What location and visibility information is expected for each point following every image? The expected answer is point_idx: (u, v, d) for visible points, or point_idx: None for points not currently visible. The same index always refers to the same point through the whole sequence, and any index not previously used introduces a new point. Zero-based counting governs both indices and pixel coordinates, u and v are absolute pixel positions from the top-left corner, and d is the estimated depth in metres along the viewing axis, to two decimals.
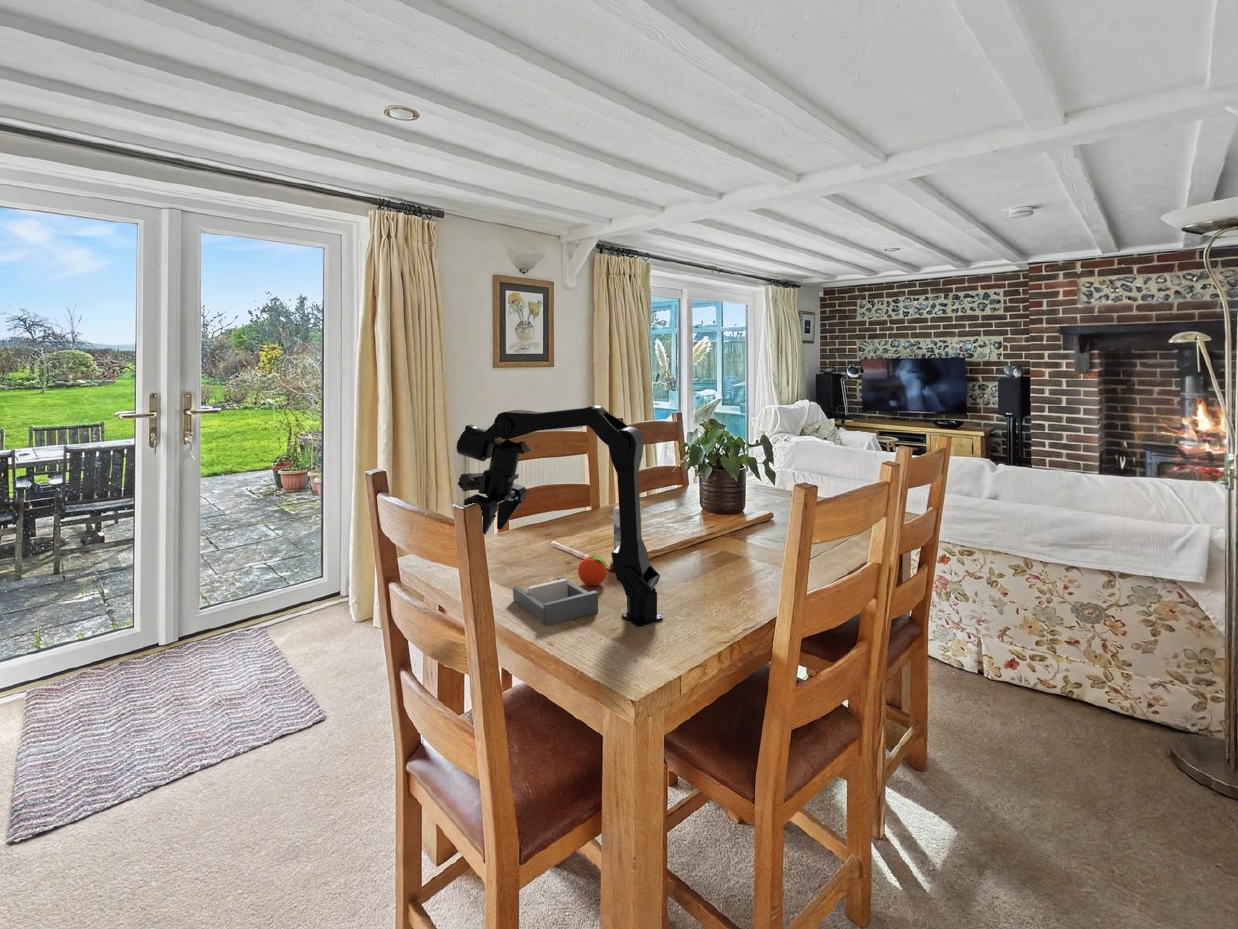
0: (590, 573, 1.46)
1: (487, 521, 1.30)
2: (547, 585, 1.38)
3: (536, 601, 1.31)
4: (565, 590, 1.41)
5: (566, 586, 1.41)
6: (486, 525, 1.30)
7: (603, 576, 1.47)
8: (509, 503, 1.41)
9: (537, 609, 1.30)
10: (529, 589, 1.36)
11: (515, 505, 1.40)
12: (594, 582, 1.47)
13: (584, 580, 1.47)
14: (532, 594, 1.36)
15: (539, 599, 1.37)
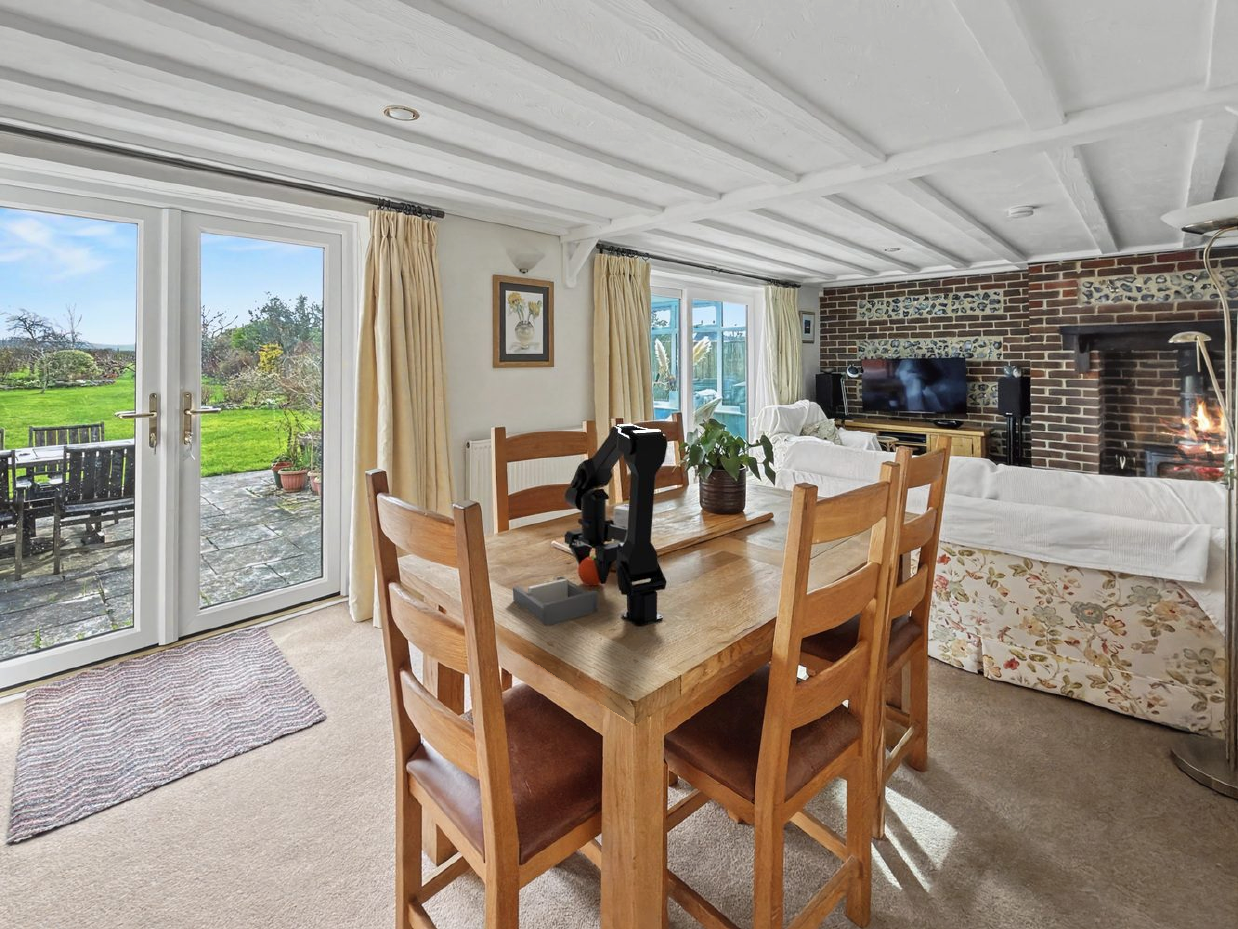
0: (590, 573, 1.46)
1: None
2: (547, 585, 1.38)
3: (536, 601, 1.31)
4: (565, 590, 1.41)
5: (566, 586, 1.41)
6: None
7: None
8: None
9: (537, 609, 1.30)
10: (529, 589, 1.36)
11: None
12: (594, 582, 1.47)
13: (584, 580, 1.47)
14: (532, 594, 1.36)
15: (539, 599, 1.37)
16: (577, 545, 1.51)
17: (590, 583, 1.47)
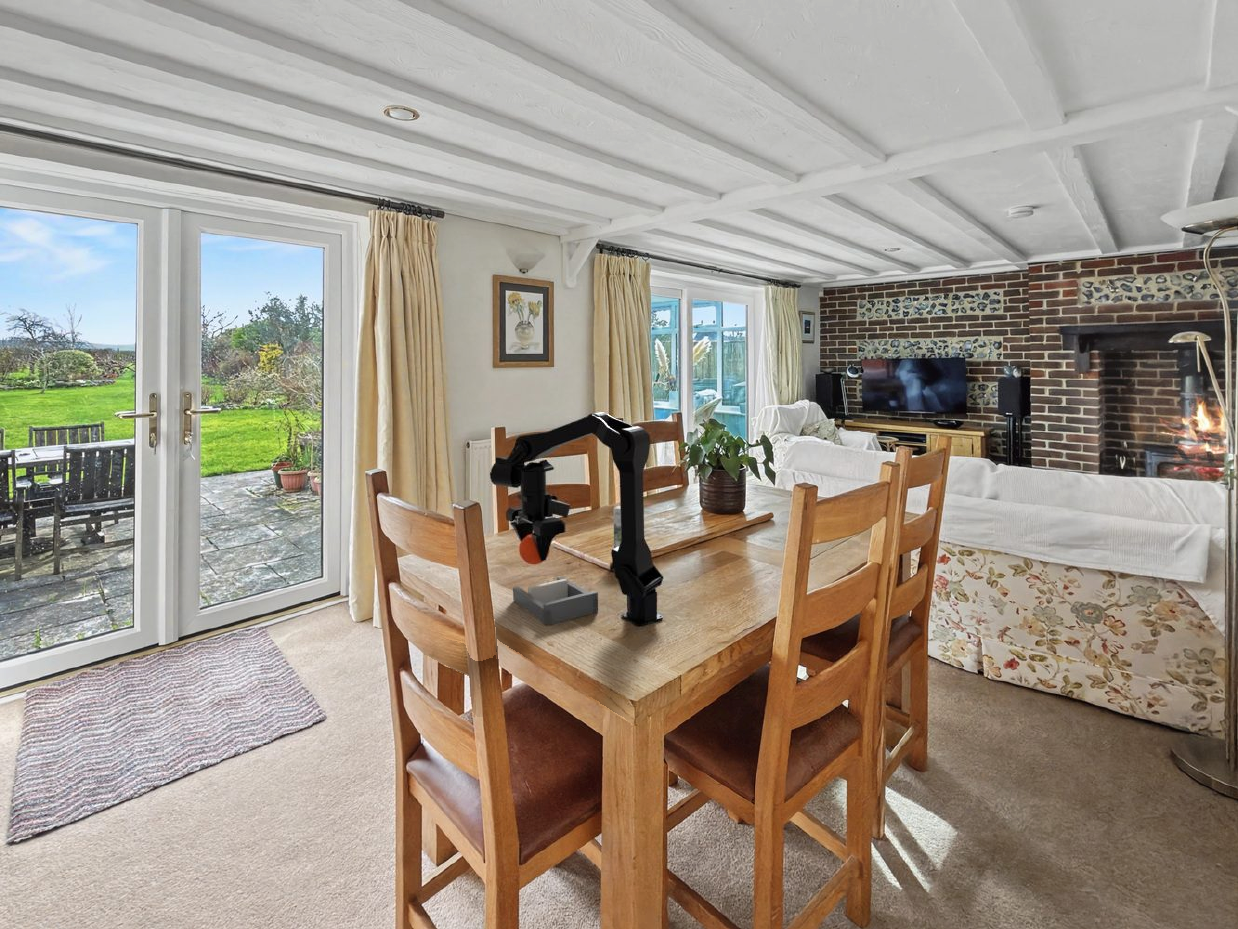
0: (531, 550, 1.39)
1: None
2: (547, 585, 1.38)
3: (536, 601, 1.31)
4: (565, 590, 1.41)
5: (566, 586, 1.41)
6: None
7: None
8: None
9: (537, 609, 1.30)
10: (529, 589, 1.36)
11: None
12: (535, 560, 1.40)
13: (525, 558, 1.40)
14: (532, 594, 1.36)
15: (539, 599, 1.37)
16: (519, 522, 1.44)
17: (531, 561, 1.40)
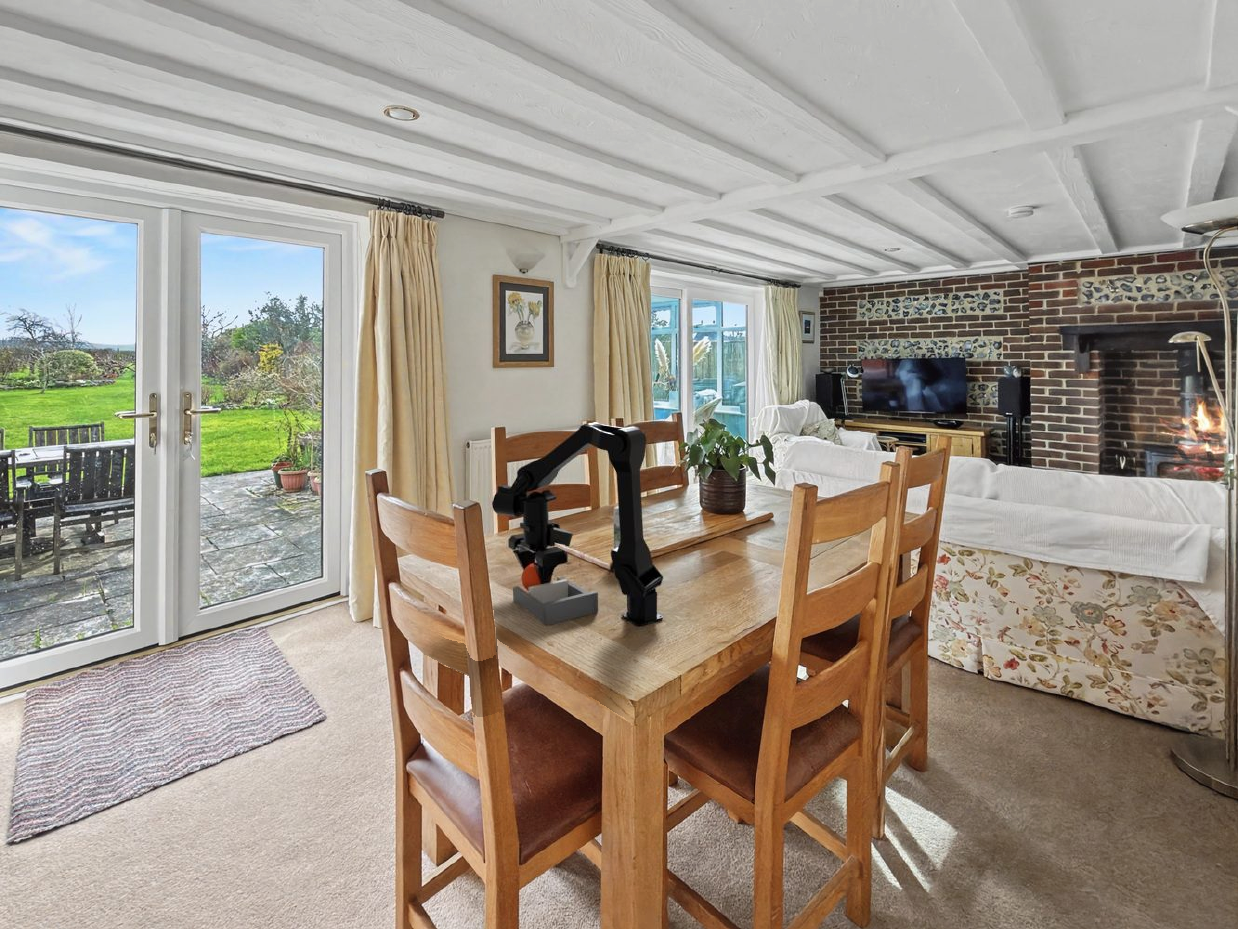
0: (533, 580, 1.40)
1: None
2: (548, 585, 1.38)
3: (536, 601, 1.31)
4: (566, 590, 1.41)
5: (567, 586, 1.41)
6: None
7: None
8: None
9: (537, 609, 1.30)
10: (530, 589, 1.36)
11: None
12: None
13: (527, 588, 1.41)
14: (533, 594, 1.36)
15: (540, 599, 1.37)
16: (521, 550, 1.45)
17: None
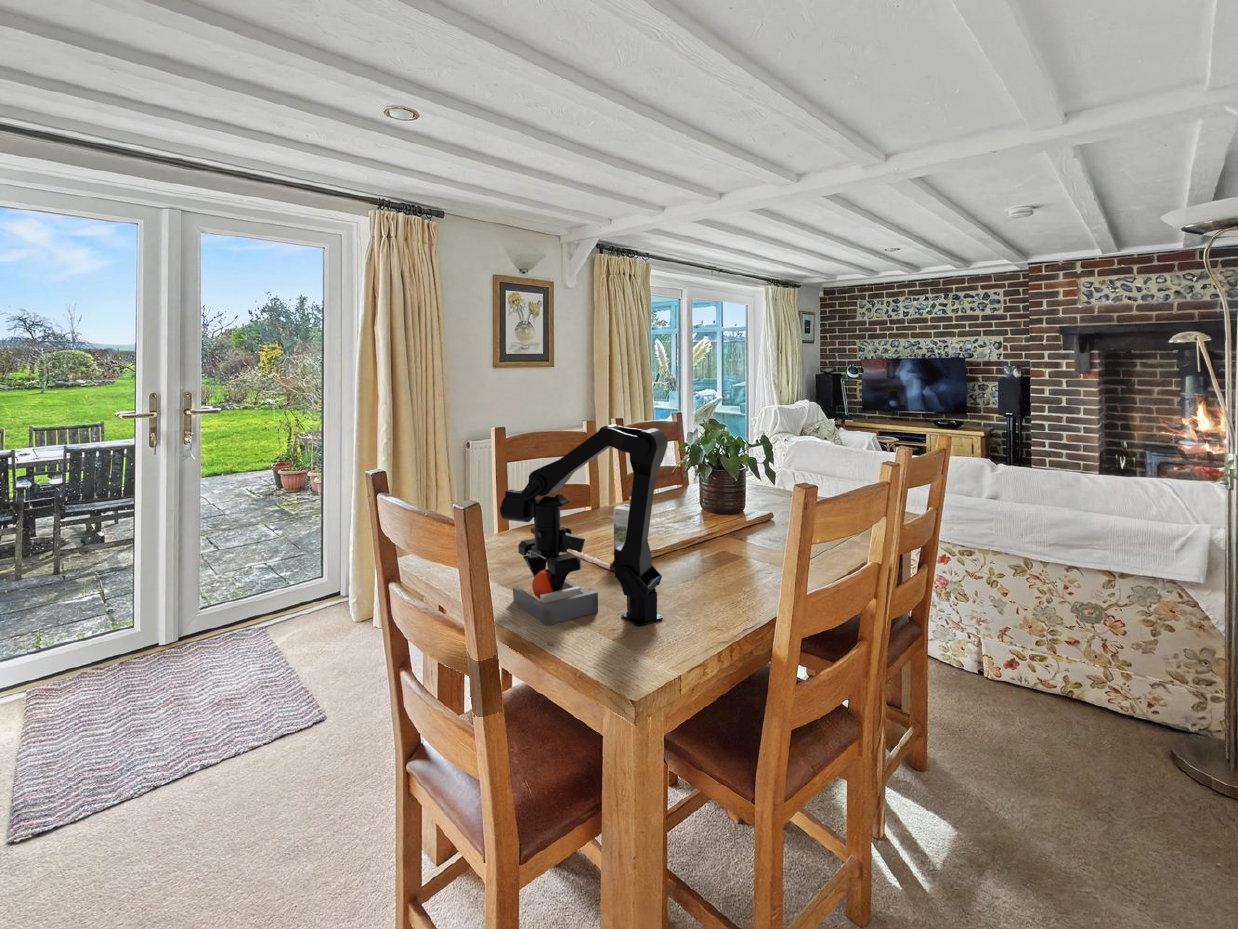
0: (544, 587, 1.35)
1: None
2: (560, 593, 1.33)
3: (536, 601, 1.31)
4: None
5: None
6: None
7: None
8: None
9: (537, 609, 1.30)
10: (541, 597, 1.32)
11: None
12: None
13: (538, 595, 1.36)
14: (544, 602, 1.32)
15: None
16: (532, 556, 1.40)
17: None
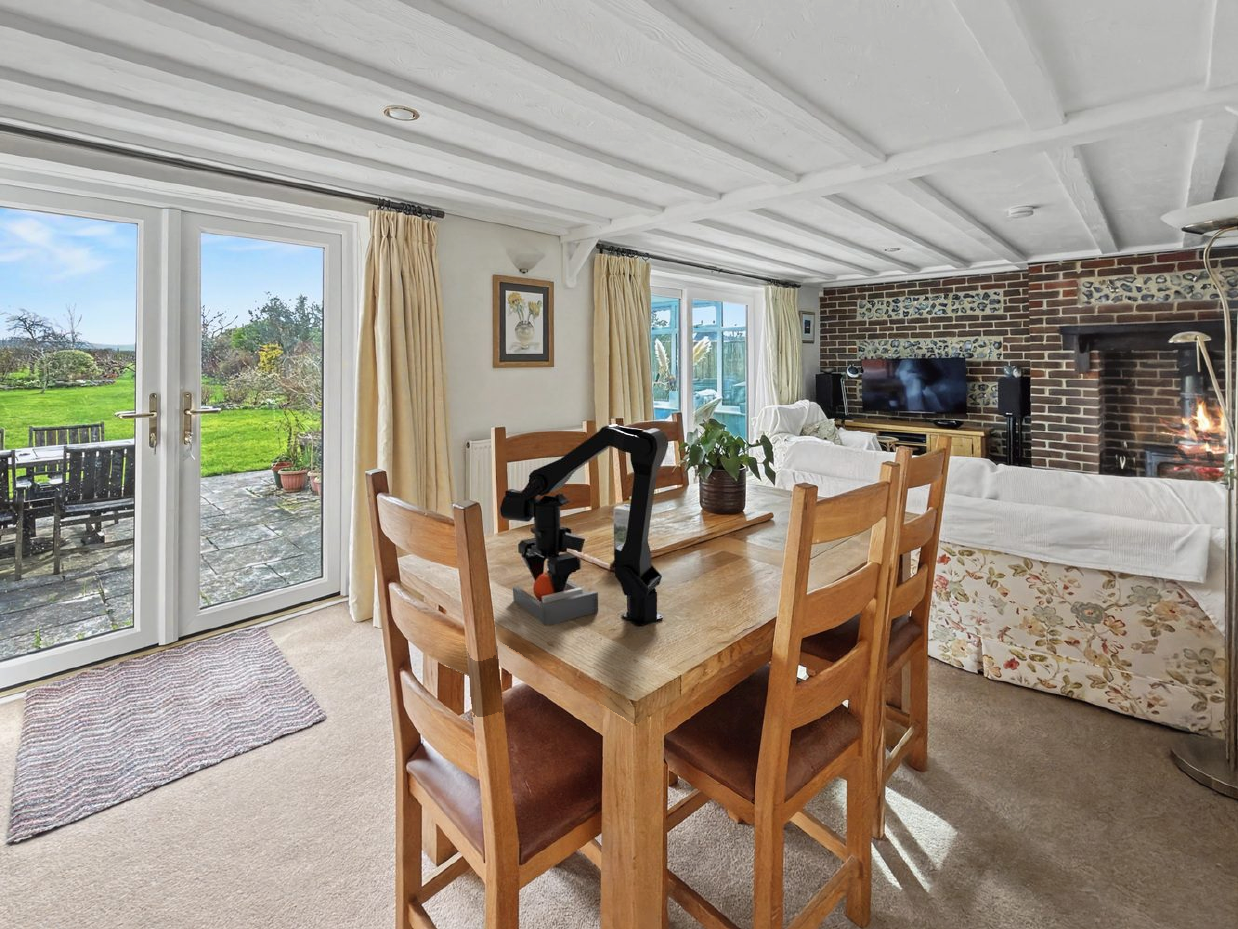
0: (546, 591, 1.35)
1: None
2: (562, 594, 1.33)
3: (536, 601, 1.31)
4: None
5: None
6: None
7: None
8: None
9: (537, 609, 1.30)
10: (543, 599, 1.31)
11: None
12: None
13: (539, 598, 1.36)
14: None
15: None
16: (530, 555, 1.41)
17: None
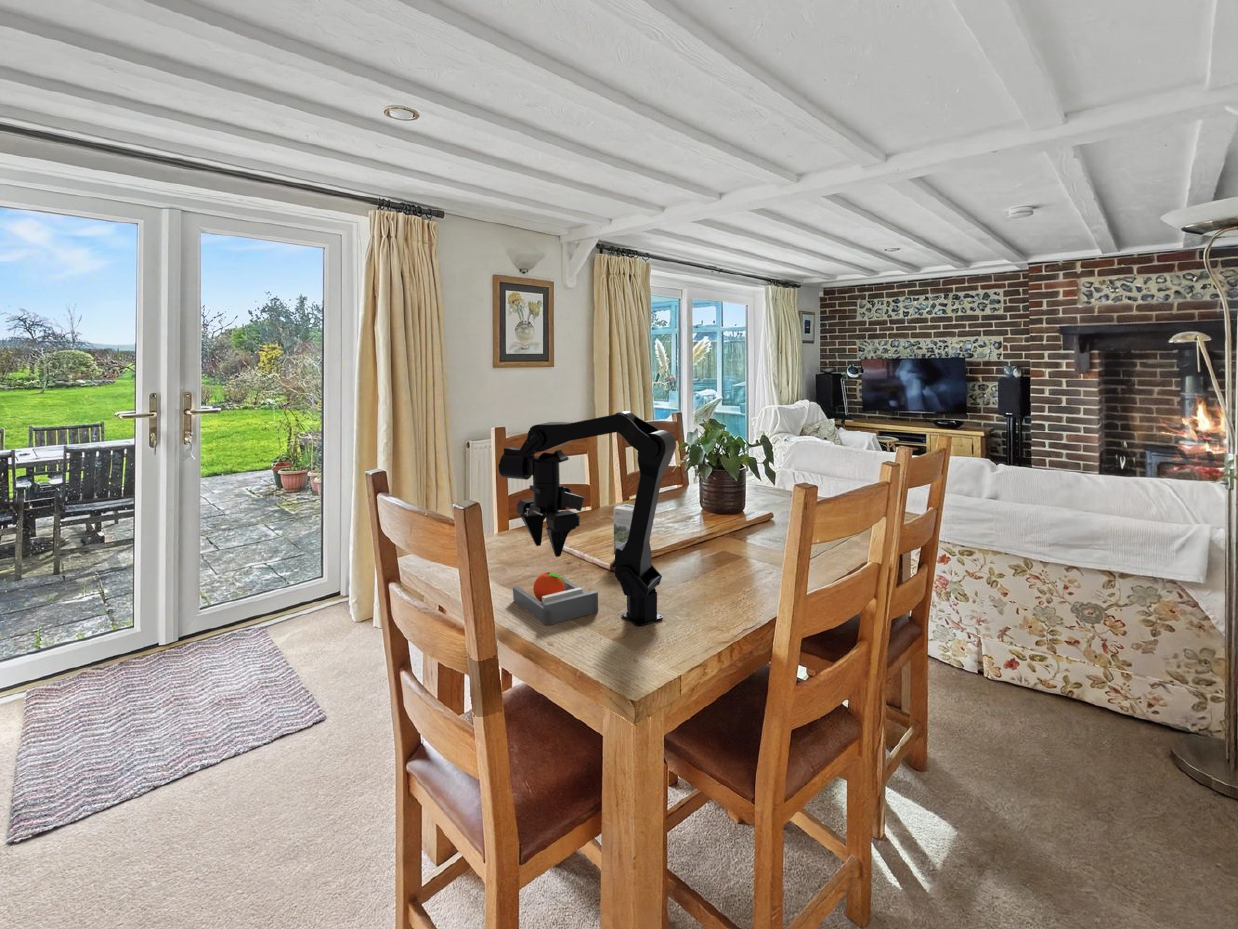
0: (546, 591, 1.35)
1: None
2: (562, 594, 1.33)
3: (536, 601, 1.31)
4: None
5: None
6: None
7: None
8: None
9: (537, 609, 1.30)
10: (543, 599, 1.31)
11: None
12: None
13: (540, 598, 1.36)
14: None
15: None
16: (528, 514, 1.39)
17: None
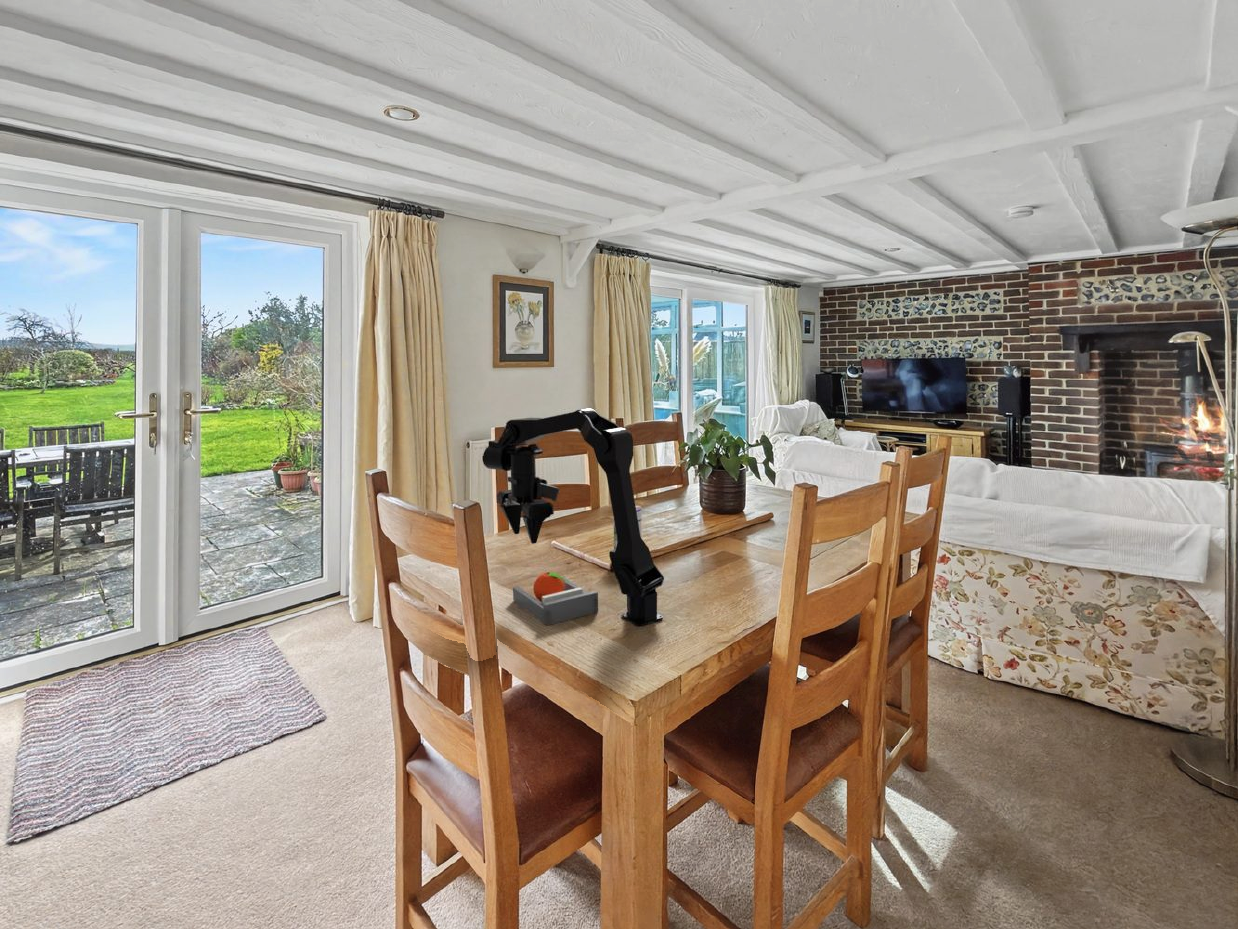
0: (546, 591, 1.35)
1: None
2: (562, 594, 1.33)
3: (536, 601, 1.31)
4: None
5: None
6: None
7: None
8: None
9: (537, 609, 1.30)
10: (543, 599, 1.31)
11: None
12: None
13: (540, 598, 1.36)
14: None
15: None
16: (507, 504, 1.49)
17: None
